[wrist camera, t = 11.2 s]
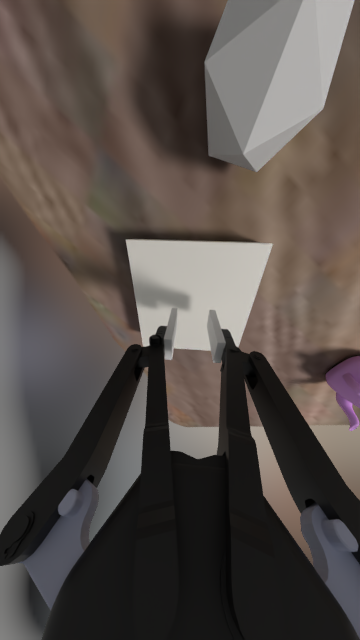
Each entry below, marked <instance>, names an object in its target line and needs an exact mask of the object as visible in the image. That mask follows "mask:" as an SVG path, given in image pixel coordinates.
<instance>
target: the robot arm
mask: <svg viewBox="0 0 360 640" xmlns="http://www.w3.org/2000/svg"><path fill="white" fill-rule="evenodd" d="M177 309H178V308H172V309H171V313H170V317H169V321H168V325H167V326H159V327H158V329H157V332H156V334H155V335H152V336H150V337H149V344H150V345H149V346H146V347H141V346H140V345H138V344H134V345H131V346H130V347H129V348H128V349H127V351H126V352H125V354H124V356H123V357H122V359H121V361H120V362H119V364H118V366H117V368H116V369H115V371H114V373H113V375H112V376H111V378H110V379H109V381H108V383H107V385H106V386H105V388H104V390H103V391H102V393H101V395H100V397H99V398H98V400H97V401H96V403H95V405H94V407H93V408H92V410H91V412H90V413H89V415H88V417H87V419H86V420H85V422H84V424H83V425H82V427H81V429H80V431H79V432H78V434H77V435H76V437H75V439H74V441H73V442H72V444H71V446H70V448H69V449H68V451H67V452H66V454H65V456H64V457H63V458H62V460H61V461H60V462H59V463H58V464H57V465H56V467H55V468H54V469H53V470H52V471H51V472H50V473H49V475H48V476H47V477H46V478H45V479H44V480H43V481H42V483H41V484H40V485H39V486H38V487H37V489H35V491H34V492H33V493H32V494H31V495H30V496H29V498H28V499H27V500H26V501H25V502H24V504H22V506H21V507H20V508H19V509H18V510H17V511H16V513H15V514H14V515H13V516H12V517H11V519H10V520H9V521H8V523H7V525H6V526H5V527H4V528H3V530H2V532H1V534H0V566H3V565H9V564H15V563H23V564H24V565H25V567H26V569H27V570H28V572H29V574H30V576H31V577H32V579H33V581H34V582H35V584H36V586H37V588H38V589H39V591H40V593H41V595H42V596H43V598H44V600H45V602H46V603H47V605H48V607H49V608H50V610H51V612H50V615H49V617H48V621H47V624H46V627H45V630H44V633H43V637H42V640H360V500H359V499H358V498H357V497H356V496H355V495H354V493H353V492H352V491H351V490H350V489H349V488H348V486H347V485H346V484H345V482H344V480H343V479H342V477H341V476H340V474H339V473H338V471H337V469H336V468H335V467H334V465H333V463H332V462H331V460H330V458H329V457H328V456H327V454H326V452H325V451H324V449H323V447H322V446H321V444H320V443H319V441H318V440H317V438H316V436H315V435H314V433H313V432H312V430H311V429H310V427H309V425H308V424H307V422H306V421H305V419H304V418H303V416H302V414H301V413H300V411H299V410H298V408H297V407H296V405H295V403H294V402H293V400H292V399H291V397H290V396H289V394H288V392H287V391H286V389H285V388H284V386H283V385H282V383H281V381H280V380H279V378H278V377H277V375H276V374H275V372H274V370H273V369H272V367H271V366H270V364H269V363H268V361H267V359H266V358H265V357H264V355H262V354H261V353H259V352H255V351H253V352H251V353H250V354H247V353H244V352H241V350H240V349H239V348H238V347H237V346H236V345H235V343H234V340H233V338H232V336H231V333H230V331H229V330H228V329H221V326H220V323H219V320H218V317H217V314H216V311H215V310H209V316H208V322H207V330H208V336H209V342H210V347H211V353H212V359H213V362H214V363H221V359H222V366H221V370H220V371H221V392H220V417H219V442H218V450H217V455H213V456H209V457H206V458H202V459H195V458H193V457H191V456H189V455H187V454H185V453H183V452H179V451H170V439H169V438H170V437H169V423H168V409H167V394H166V379H165V364H164V357H165V359H169V360H172V356H173V350H174V343H175V337H176V330H177ZM145 367H149V368H148V386H147V406H146V424H145V429H144V434H143V450H142V466H141V474H140V475H139V477H138V478H137V479H136V481H135V482H134V483H133V485H132V486H131V488H130V489H129V490H128V492H127V493H126V494H125V496H124V497H123V499H122V500H121V501H120V503H119V504H118V505H117V507H116V508H115V510H114V511H113V512H112V514H111V515H110V516H109V518H108V519H107V521H106V522H105V523H104V525H103V526H102V527H101V529H100V530H99V532H98V533H97V534H96V536H95V537H94V538H93V540H92V541H91V542H90V543H89V528H90V524H91V521H92V518H93V516H94V513H95V511H96V508H97V505H98V499H99V495H98V490H97V486H98V484H99V482H100V481H101V478H102V477H103V475H104V473H105V470H106V468H107V465H108V463H109V460H110V458H111V455H112V452H113V450H114V447H115V445H116V442H117V439H118V437H119V434H120V431H121V429H122V426H123V423H124V421H125V418H126V415H127V413H128V410H129V407H130V405H131V402H132V400H133V397H134V394H135V392H136V389H137V386H138V383H139V381H140V378H141V376H142V373H143V370H144V368H145ZM244 379H245V381H244ZM245 382H246V384H247V387H248V389H249V392H250V394H251V397H252V399H253V402H254V404H255V407H256V410H257V412H258V415H259V417H260V420H261V422H262V425H263V427H264V429H265V432H266V435H267V437H268V440H269V442H270V445H271V447H272V449H273V452H274V455H275V457H276V460H277V462H278V465H279V467H280V470H281V473H282V475H283V478H284V480H285V482H286V484H287V487H288V489H289V491H290V494H291V495H292V497H293V500H294V501H295V503H296V505H297V507H298V509H299V511H300V513H301V517H300V521H301V531H302V534H303V537H304V539H305V540H306V542H307V543H308V545H309V548H310V550H311V554H312V557H313V565H314V567H313V565H312V564H311V563H310V561H309V560H308V558H307V557H306V556H305V554H304V553H303V551H302V550H301V548H300V547H299V546H298V544H297V543H296V541H295V540H294V538H293V537H292V536H291V534H290V533H289V531H288V530H287V528H286V527H285V526H284V524H283V523H282V521H281V520H280V518H279V517H278V516H277V514H276V513H275V512H274V510H273V509H272V507H271V506H270V504H269V503H268V501H267V500H266V499H265V497H264V496H263V491H262V484H261V477H260V469H259V462H258V455H257V448H256V443H255V440H254V439H253V438H252V436H251V431H250V423H249V414H248V406H247V398H246V390H245Z"/></svg>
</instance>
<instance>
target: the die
mask: <svg viewBox="0 0 360 640" xmlns="http://www.w3.org/2000/svg"><path fill="white" fill-rule="evenodd" d="M353 3H354V0H228V2H227V4H226V7H225V10H224V12H223V15H222V17H221V20H220V23H219V25H218V28H217V31H216V33H215V36H214V38H213V41H212V44H211V46H210V49H209V52H208V54H207V57H206V60H205V62H204V63H205V86H206V108H207V131H208V153H209V156H211V157H214V158H217V159H220V160H223V161H226V162H228V163H231V164H234V165H237V166H240V167H243V168H246V169H249V170H252V171H255V172H257V171H258V170H260V169H261V168H262V167H263V166H264V165H265V164H266V163H267V162H268V161H269V160H270V159H271V158H272V157H273V156H274V155H275V154H276V153H277V152H278V151H279V150H280V149H281V148H283V147H284V146H285V145H286V144H287V143H288V142H289V141H290V140H291V139H292V138H293V137H294V136H295V135H296V134H297V133H298V132H299V131H300V130H301V129H302V128H303V127H305V126H306V125H307V124H308V123H309V122H310V121H311V120H312V119H313V118H314V117H315V116H316V115H317V114H318V113H319V112H320V111H321V110H322V109H323V107H324V104H325V100H326V97H327V94H328V90H329V87H330V83H331V80H332V76H333V73H334V69H335V66H336V62H337V59H338V55H339V52H340V48H341V45H342V41H343V38H344V35H345V31H346V28H347V24H348V21H349V17H350V14H351V10H352V7H353Z"/></svg>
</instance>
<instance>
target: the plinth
mask: <svg viewBox="0 0 360 640" xmlns="http://www.w3.org/2000/svg"><path fill="white" fill-rule="evenodd" d="M126 244H127V250H128V256H129V262H130V269H131V275H132V281H133V287H134V293H135V299H136V305H137V311H138V318H139V324H140V330H141V336H142V342H143V346H149V345H150V344H149V337H150V336H152V335H155V334H156V332H157V329H158V327H159V326H167V325H168V321H169V317H170V313H171V309H172V308H178V309H177V330H176V337H175V343H174V348H179V349H194V350H210V351H211V347H210V342H209V336H208V330H207V322H208V316H209V310H215V311H216V314H217V317H218V320H219V323H220V326H221V329H228V330H229V331H230V333H231V336H232V338H233V340H234V343H235V345H236V346H237V347H238V346H239V343H240V340H241V338H242V335H243V332H244V329H245V326H246V323H247V320H248V317H249V314H250V311H251V308H252V305H253V302H254V299H255V296H256V293H257V290H258V287H259V284H260V281H261V278H262V275H263V272H264V269H265V266H266V263H267V260H268V257H269V254H270V251H271V248H272V245H273V244H271V243H262V242H234V241H197V240H161V239H127V240H126Z"/></svg>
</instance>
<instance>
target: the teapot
mask: <svg viewBox="0 0 360 640" xmlns="http://www.w3.org/2000/svg"><path fill="white" fill-rule="evenodd" d="M326 381H327V383H328V385H329V386H330V387H331V388H332V389H333V390H335V391H336V400H337V402H338V404H339V405H340V407H341V408H342V410H343V411H344V412H345V414H346V415H347V417H348V419H349V421H350V428H349V430H350V431H352V430H354V429H356V428H357V427H358V426H359V421H358V418H357V416H356V415H355V413H354V411H353V408H352V404H354V405H355V406H357V407H359V408H360V356H354V357H351V358H349V359H347V360H345V361H343V362H341V363H340V364H338V365H336V366H335V367H334V368H332V369H331V370H329V371H328V372H327V373H326Z"/></svg>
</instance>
